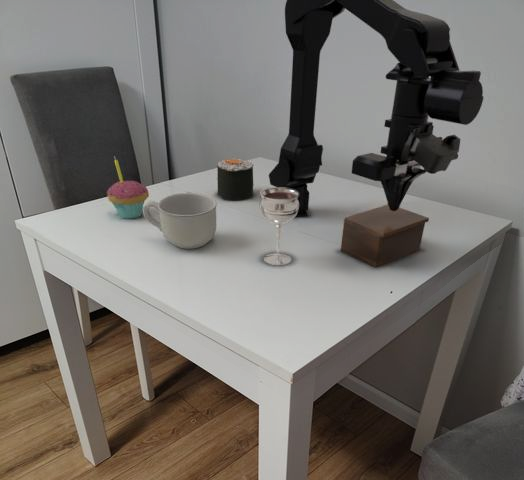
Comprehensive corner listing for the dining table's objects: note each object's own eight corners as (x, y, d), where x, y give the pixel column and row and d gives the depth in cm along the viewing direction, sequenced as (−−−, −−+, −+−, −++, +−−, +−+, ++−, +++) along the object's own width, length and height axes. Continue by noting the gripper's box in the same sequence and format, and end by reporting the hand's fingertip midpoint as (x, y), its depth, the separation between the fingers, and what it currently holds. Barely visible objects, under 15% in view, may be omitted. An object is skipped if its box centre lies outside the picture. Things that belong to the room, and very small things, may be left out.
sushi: (228, 202, 113) (227, 167, 109) (213, 192, 119) (211, 158, 115) (258, 197, 117) (259, 162, 112) (242, 187, 123) (242, 154, 118)
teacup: (226, 236, 97) (225, 196, 92) (203, 258, 89) (201, 215, 84) (164, 227, 101) (159, 188, 96) (136, 247, 92) (130, 205, 88)
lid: (428, 221, 89) (429, 217, 89) (382, 237, 83) (383, 233, 82) (389, 207, 95) (389, 203, 94) (343, 221, 88) (344, 217, 88)
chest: (419, 250, 93) (425, 220, 89) (375, 267, 86) (380, 236, 83) (384, 235, 98) (389, 207, 95) (340, 251, 92) (343, 221, 88)
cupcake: (102, 218, 104) (92, 159, 97) (126, 205, 111) (117, 150, 104) (136, 224, 102) (128, 164, 95) (158, 211, 108) (152, 154, 101)
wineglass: (251, 257, 89) (251, 191, 82) (280, 248, 92) (282, 184, 86) (274, 270, 85) (276, 202, 78) (303, 261, 88) (308, 194, 81)
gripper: (414, 130, 68) (395, 236, 77) (488, 116, 77) (463, 212, 86) (355, 117, 75) (344, 216, 84) (429, 106, 84) (412, 196, 93)
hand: (393, 210), depth 87 cm, fingers closed
